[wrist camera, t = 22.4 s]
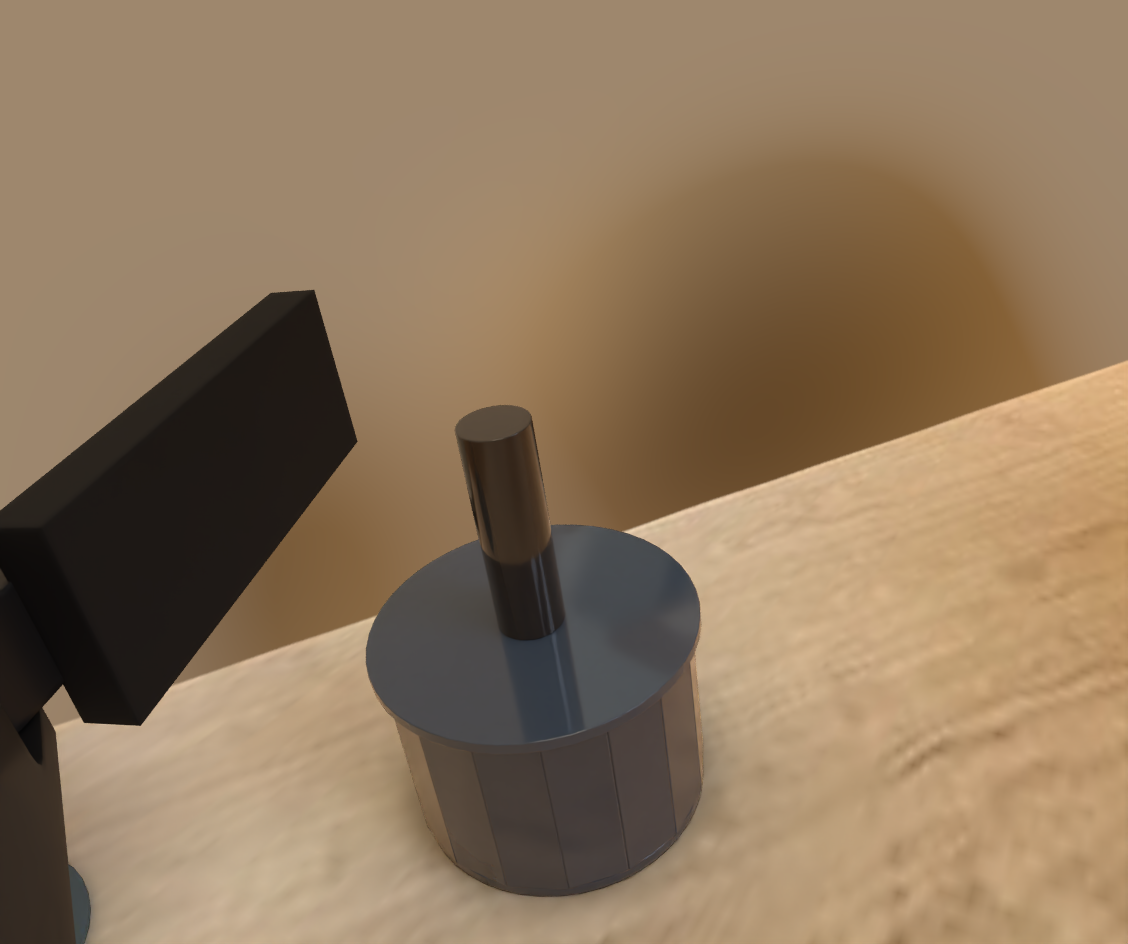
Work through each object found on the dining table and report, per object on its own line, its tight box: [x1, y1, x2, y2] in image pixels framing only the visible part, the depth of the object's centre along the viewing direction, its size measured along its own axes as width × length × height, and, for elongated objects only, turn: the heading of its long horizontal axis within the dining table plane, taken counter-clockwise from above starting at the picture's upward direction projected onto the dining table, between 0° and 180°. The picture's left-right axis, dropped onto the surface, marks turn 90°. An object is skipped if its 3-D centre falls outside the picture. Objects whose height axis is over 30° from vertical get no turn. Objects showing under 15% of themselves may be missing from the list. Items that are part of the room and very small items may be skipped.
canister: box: [394, 654, 703, 896], centre depth 41 cm, size 13×13×8 cm
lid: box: [366, 405, 701, 754], centre depth 37 cm, size 14×14×10 cm
